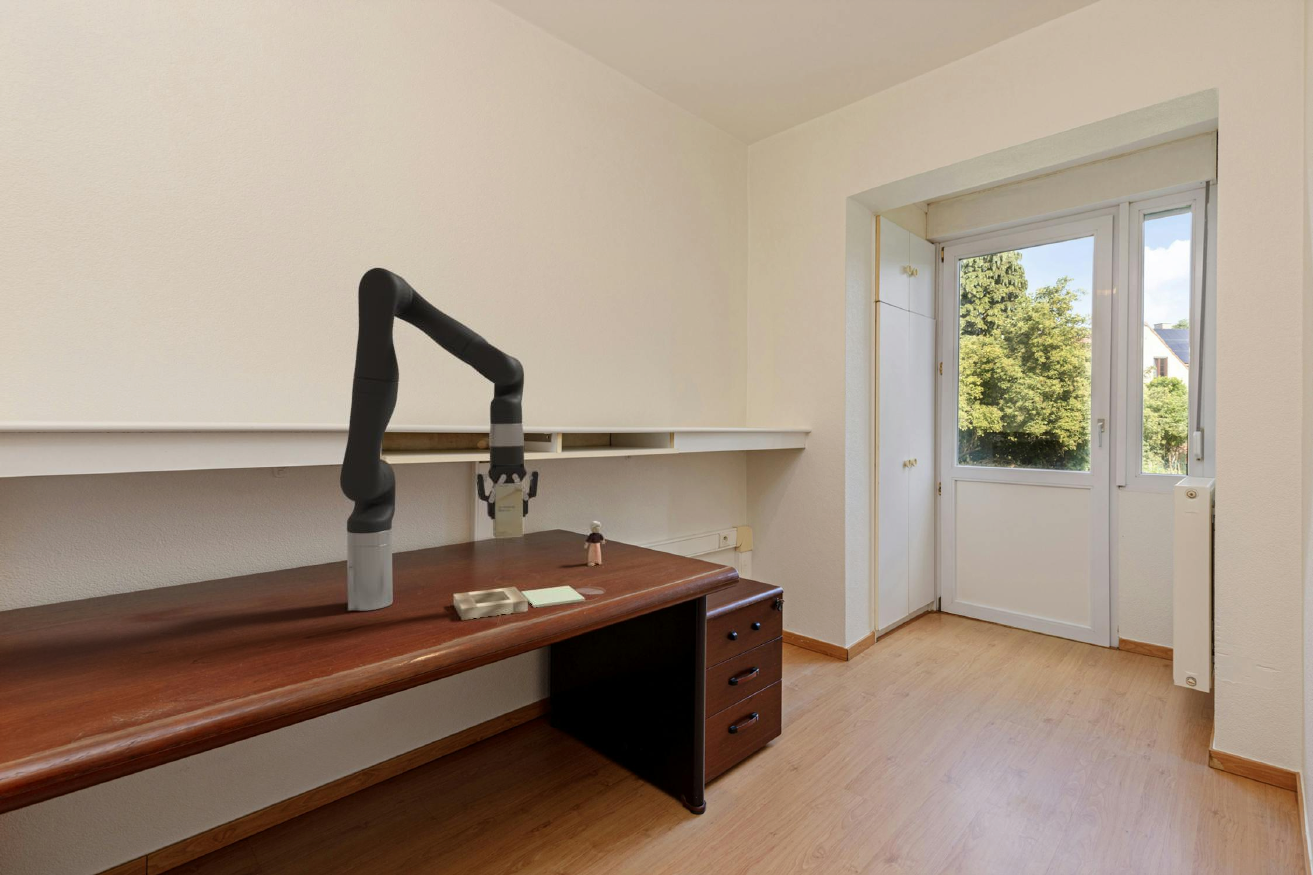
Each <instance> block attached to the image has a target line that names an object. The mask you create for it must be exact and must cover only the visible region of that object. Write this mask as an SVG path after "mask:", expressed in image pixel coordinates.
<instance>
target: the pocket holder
mask: <svg viewBox="0 0 1313 875" xmlns="http://www.w3.org/2000/svg"><path fill="white" fill-rule="evenodd" d="M453 606H454V608H455V610H456V612H457V614H458V616H459V618H460V617H461V618H460V619H461V621H462V620H463V621H469V619H470V620H474V619H473V618H477V619H481V618H480V617H484V618H489V617H488V616H492V617H497V615H499V616H502V615H501V614H506V615H512V614H511V613H513V614H518V613H519V614H520V613H526V612H527V611H529V610H528V609H529V602H528V600H527V599H526V598H525V597H524V596H523V595H522V594H521V591H520V590H518V588H516V586H511V587H503V588H493V589H487V590H486V589H485V590H477V591H476V590H475V591H468V592H461V593H459V592H458V593H453Z"/></svg>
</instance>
